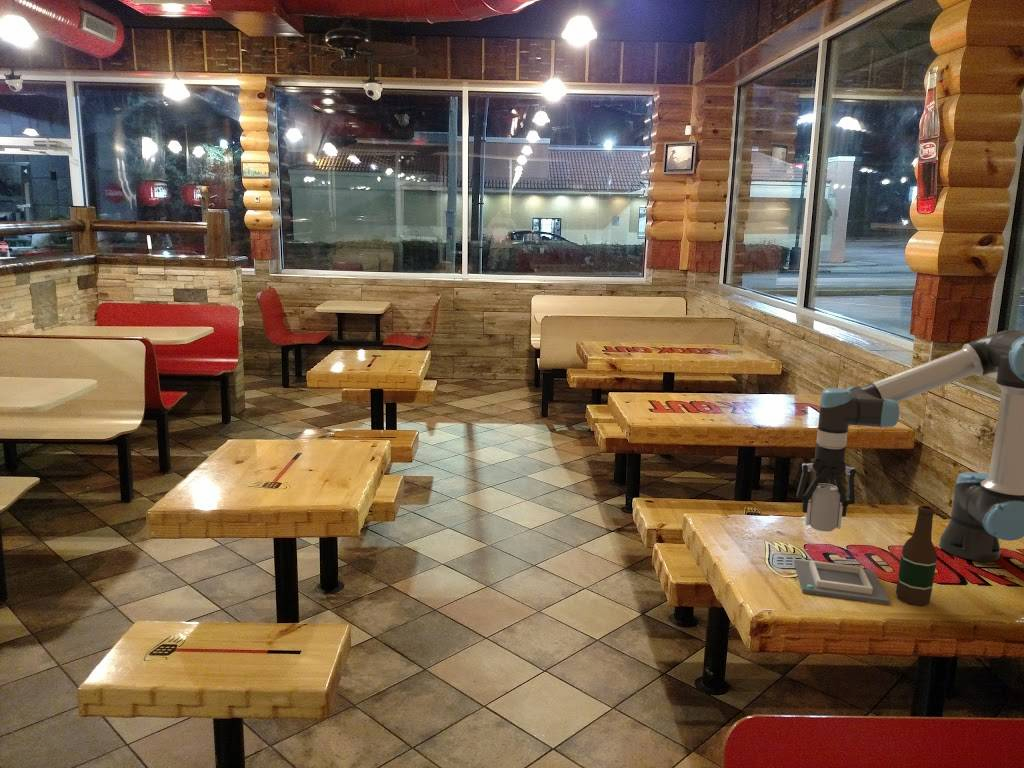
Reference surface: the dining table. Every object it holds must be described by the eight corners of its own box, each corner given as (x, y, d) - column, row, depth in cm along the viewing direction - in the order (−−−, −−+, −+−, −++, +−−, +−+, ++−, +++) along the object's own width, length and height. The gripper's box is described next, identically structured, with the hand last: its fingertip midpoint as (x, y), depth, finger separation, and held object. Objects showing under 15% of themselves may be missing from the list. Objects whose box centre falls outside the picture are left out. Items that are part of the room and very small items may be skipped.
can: (832, 523, 218) (836, 482, 215) (840, 533, 210) (845, 491, 208) (804, 521, 218) (808, 481, 216) (811, 531, 211) (816, 489, 209)
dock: (873, 573, 206) (874, 564, 205) (889, 604, 188) (890, 595, 188) (793, 563, 210) (794, 554, 209) (802, 592, 193) (803, 583, 192)
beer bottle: (888, 592, 195) (902, 501, 190) (917, 592, 196) (932, 501, 191) (906, 606, 188) (921, 513, 183) (936, 606, 188) (952, 513, 184)
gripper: (868, 444, 211) (859, 524, 216) (789, 438, 216) (782, 516, 220) (874, 452, 204) (864, 534, 208) (793, 445, 208) (785, 526, 213)
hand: (822, 525), depth 214 cm, fingers closed on can, 7 cm apart
